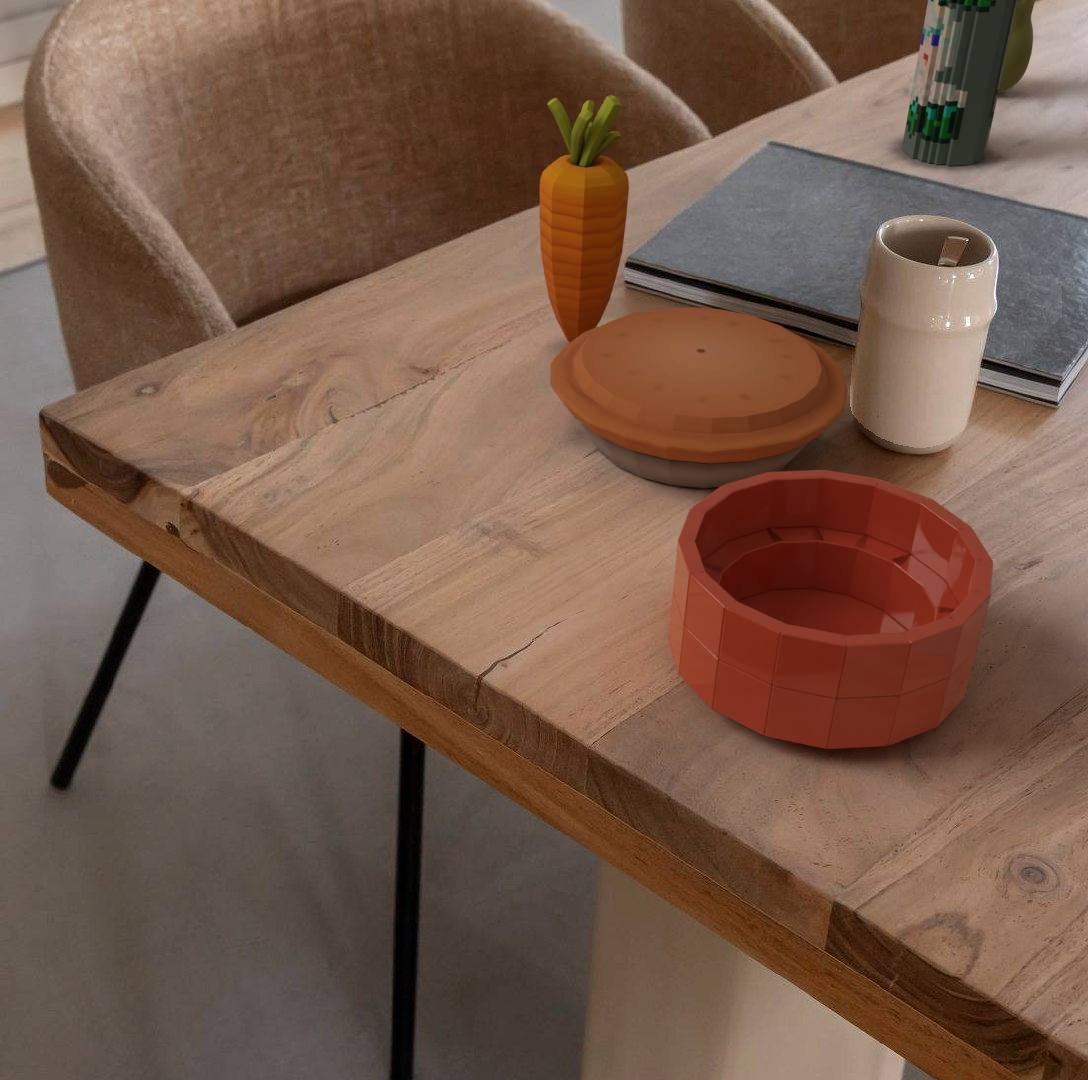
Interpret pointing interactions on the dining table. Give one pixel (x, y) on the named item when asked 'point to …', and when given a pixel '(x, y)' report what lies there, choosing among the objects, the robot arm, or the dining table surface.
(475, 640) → the dining table surface
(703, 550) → the bowl
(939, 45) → the can
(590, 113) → the carrot
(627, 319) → the pie
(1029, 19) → the pear
